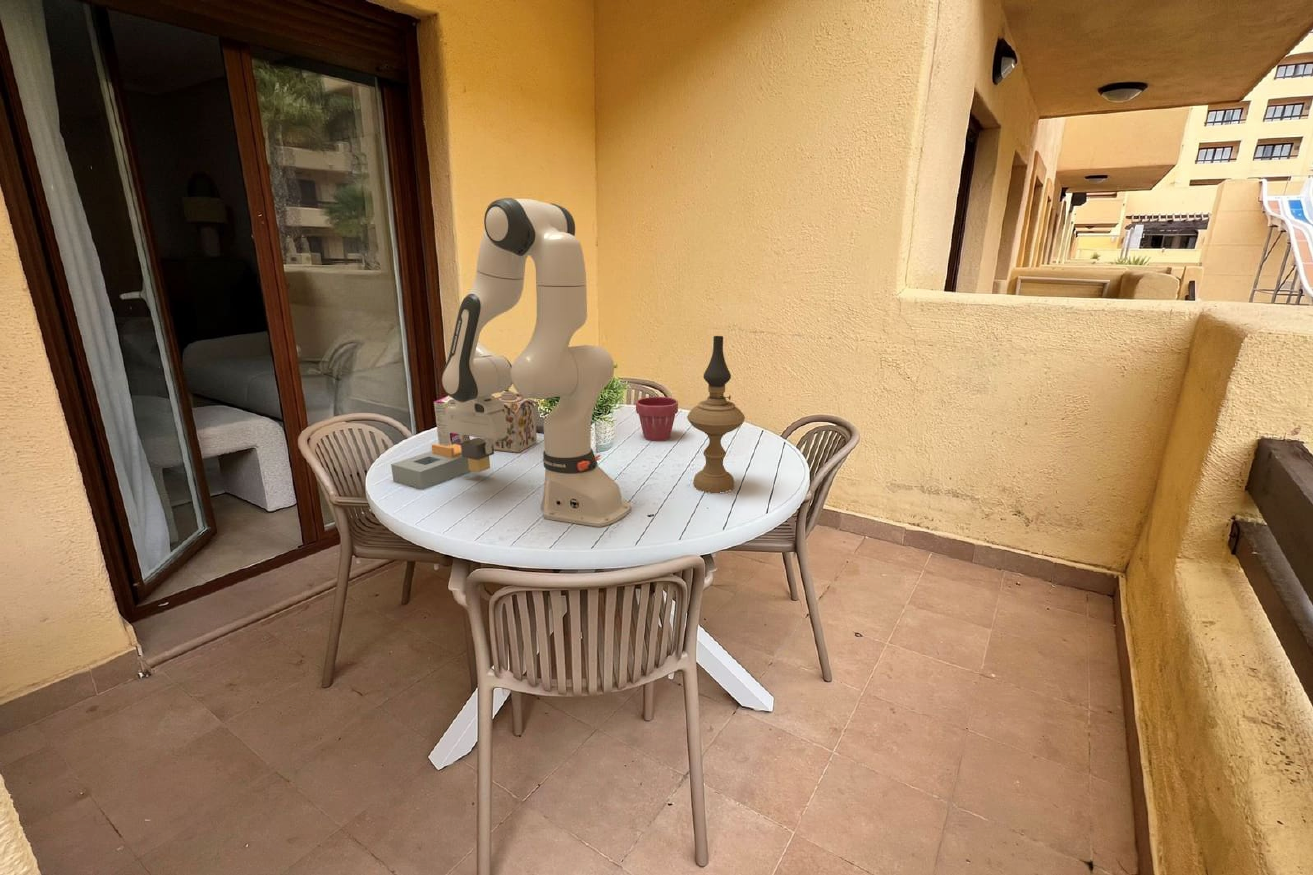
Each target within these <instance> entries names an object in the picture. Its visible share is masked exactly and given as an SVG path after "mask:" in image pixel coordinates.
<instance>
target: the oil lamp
mask: <svg viewBox="0 0 1313 875" xmlns="http://www.w3.org/2000/svg"><path fill="white" fill-rule="evenodd" d="M712 344H713V348H712V355H711V358H710V361H709V363H708V366H707V368H706V369H705V371H704V372H703V380H704V381H705V382H706V383H707V384H708V388H707V389H708V391H707V392H708V393H709V396H707V398H706V400H702V401H700V402H698V403H697V405H696V406H694V407H693V408H691V409H690V410H689V412H688V414H687V417H686V419H687V420H688V422H689V423H690V424H691V425H692V427H693V428H695V429H697V430H698V431H701V432H702V433H704V434H706V435H707V437H708V440H709V442H708V445H707V446H706V448H705V449H704V450H703V453H702V454H703V456H704V458H705V465H704V467H703V468H702V469H701V470H700V471H698V472H697V473H695V475H694V477H693V482H692V483H693V484H692V486H693V485H694V486H693V488H694V487H695V488H696V489H695V488H694V489H695V490H697V491H698V490H701V491H704V492H703V493H705V492H710V493H709V494H715V493H719V494H721V493H720V492H726V491H729V490H731V491H732V490H734V489H733V488H735V479H734V476H733V475H732V474H731V473H730V472H728V471H727V470H726V468H725V466H724V459H725V457H726V455H727V452H726V450H725V449H724V447H723V446H722V441H721V440H722V439H723V437H724V436H725V435H726V434H727V433H731V432H734V431H735V430H736V429H739V428H740V427H741V425H742V424H744V421H745V419H746V417H745V414H744V413H743V412H742V411H741V409H740V408H738V407H736V404H735V403H733V402H732V401H730V400H731V399H732V396H731V395H728V396H725V395H724V394H725V393H726V384H728V382H730V380H731V378H732V375H731V373H730V370H729V368H728V364H727V363H726V360H725V355H724V336H722V335H714V336H713V343H712ZM727 399H728V400H727ZM701 491H700V492H701ZM729 492H730V491H729ZM726 493H727V492H726Z"/></svg>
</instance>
